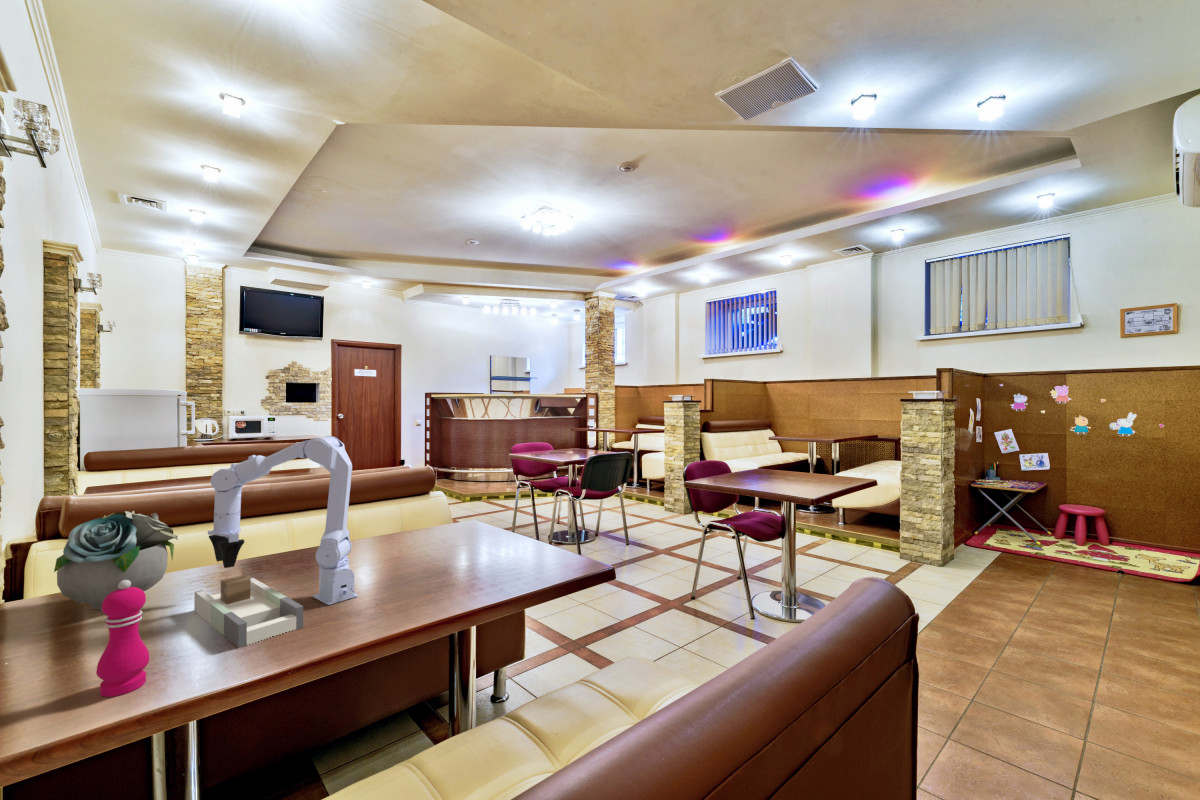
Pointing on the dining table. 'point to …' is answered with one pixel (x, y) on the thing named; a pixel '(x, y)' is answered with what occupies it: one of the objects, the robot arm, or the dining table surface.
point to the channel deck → (250, 614)
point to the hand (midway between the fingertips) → (225, 563)
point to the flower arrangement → (113, 556)
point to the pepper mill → (123, 642)
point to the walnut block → (235, 589)
